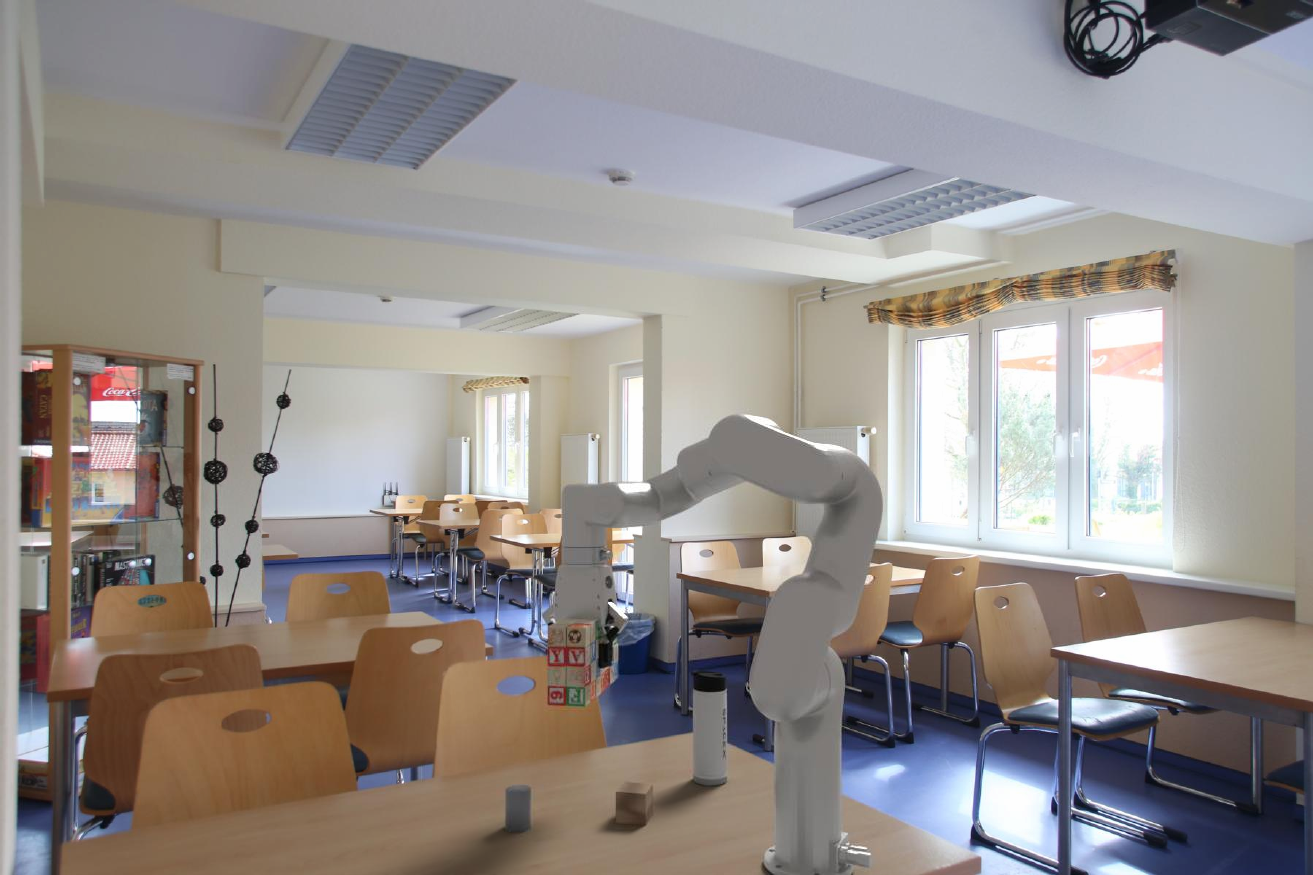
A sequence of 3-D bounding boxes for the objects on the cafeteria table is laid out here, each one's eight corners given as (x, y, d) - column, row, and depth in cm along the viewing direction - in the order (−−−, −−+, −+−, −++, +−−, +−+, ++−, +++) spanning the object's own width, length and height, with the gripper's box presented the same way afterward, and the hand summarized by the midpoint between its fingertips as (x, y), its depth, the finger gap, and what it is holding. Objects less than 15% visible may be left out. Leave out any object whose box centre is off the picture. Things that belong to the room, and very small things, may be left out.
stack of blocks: (584, 677, 159) (584, 607, 160) (619, 678, 158) (618, 608, 159) (546, 705, 138) (546, 625, 139) (585, 707, 137) (585, 625, 138)
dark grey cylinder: (535, 825, 142) (535, 787, 143) (520, 834, 139) (521, 794, 139) (515, 821, 144) (515, 783, 145) (499, 829, 141) (500, 790, 141)
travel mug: (686, 777, 166) (686, 668, 168) (719, 773, 168) (719, 666, 170) (698, 787, 161) (697, 674, 162) (732, 783, 163) (731, 672, 164)
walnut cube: (652, 814, 147) (652, 783, 148) (645, 825, 143) (645, 793, 143) (623, 812, 149) (623, 781, 149) (615, 823, 144) (615, 791, 144)
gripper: (640, 557, 148) (641, 665, 147) (553, 554, 156) (553, 657, 155) (618, 560, 142) (618, 673, 141) (528, 557, 150) (527, 664, 149)
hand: (584, 664), depth 148 cm, fingers closed on stack of blocks, 7 cm apart
